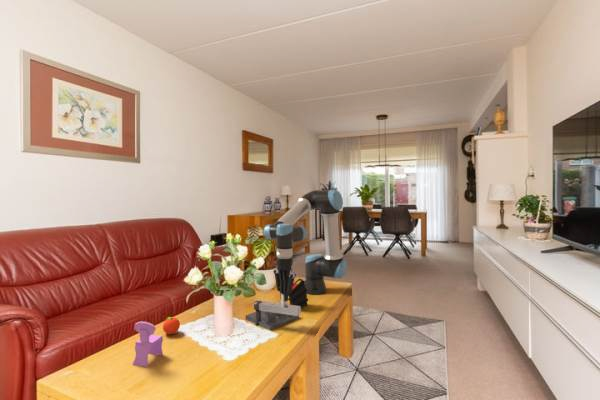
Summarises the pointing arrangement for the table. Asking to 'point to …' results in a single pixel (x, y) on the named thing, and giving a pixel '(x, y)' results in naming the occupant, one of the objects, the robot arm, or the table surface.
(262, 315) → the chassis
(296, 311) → the swing arm
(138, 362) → the toy chair
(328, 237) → the robot arm
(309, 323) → the table surface
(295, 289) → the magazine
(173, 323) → the tomato
